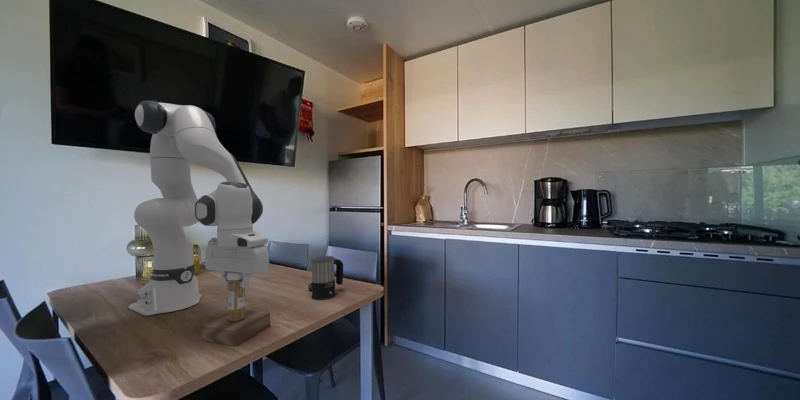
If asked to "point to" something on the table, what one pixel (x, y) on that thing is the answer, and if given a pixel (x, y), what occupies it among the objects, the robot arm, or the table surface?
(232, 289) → the sprinkles bottle
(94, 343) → the table surface
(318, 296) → the milk frother
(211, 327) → the walnut pedestal
